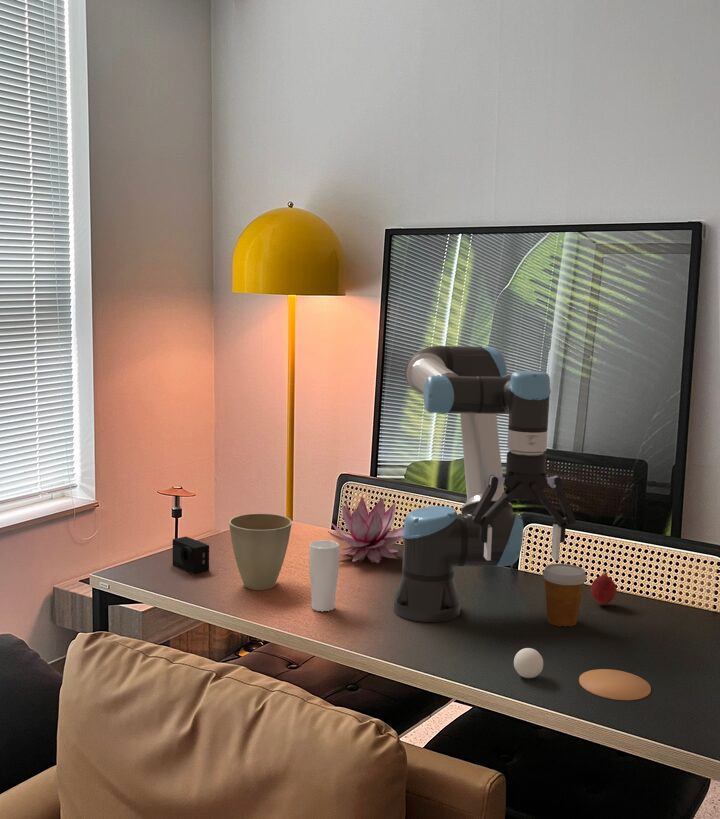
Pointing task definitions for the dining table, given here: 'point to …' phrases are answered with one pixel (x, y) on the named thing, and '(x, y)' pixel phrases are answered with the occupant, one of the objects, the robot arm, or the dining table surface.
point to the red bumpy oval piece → (603, 589)
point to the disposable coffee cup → (563, 593)
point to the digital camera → (191, 555)
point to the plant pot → (260, 547)
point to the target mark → (614, 684)
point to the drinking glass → (323, 574)
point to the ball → (528, 663)
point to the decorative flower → (369, 531)
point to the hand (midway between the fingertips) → (521, 558)
